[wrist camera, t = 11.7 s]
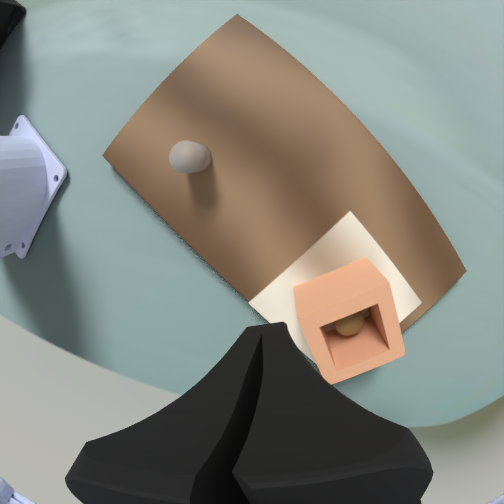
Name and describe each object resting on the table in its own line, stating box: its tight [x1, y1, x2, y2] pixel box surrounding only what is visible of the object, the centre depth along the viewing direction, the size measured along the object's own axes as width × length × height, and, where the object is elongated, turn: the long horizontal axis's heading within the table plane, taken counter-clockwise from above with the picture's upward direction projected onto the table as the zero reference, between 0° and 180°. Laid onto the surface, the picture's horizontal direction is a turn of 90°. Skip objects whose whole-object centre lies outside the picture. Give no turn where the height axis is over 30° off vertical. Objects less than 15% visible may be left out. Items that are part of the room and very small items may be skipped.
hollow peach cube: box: [293, 257, 405, 385], centre depth 15 cm, size 5×5×4 cm
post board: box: [102, 14, 466, 364], centre depth 15 cm, size 12×22×4 cm, turn 45°
